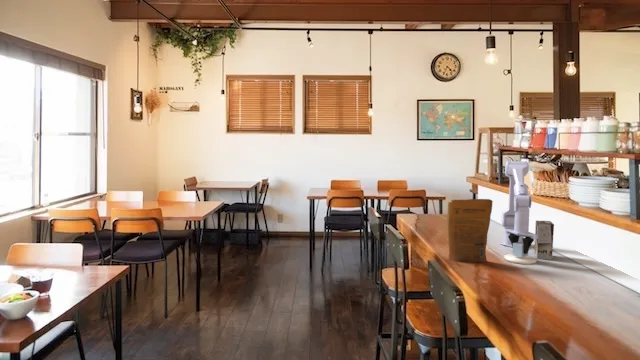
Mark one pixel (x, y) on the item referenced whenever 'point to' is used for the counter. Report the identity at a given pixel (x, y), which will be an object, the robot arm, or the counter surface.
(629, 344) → the counter surface
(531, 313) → the counter surface
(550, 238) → the coffee box
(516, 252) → the block
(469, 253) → the pancake mix bag
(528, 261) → the saucer
